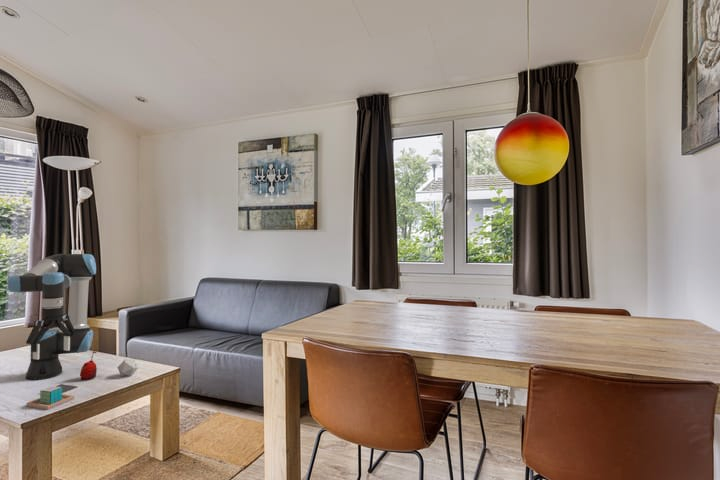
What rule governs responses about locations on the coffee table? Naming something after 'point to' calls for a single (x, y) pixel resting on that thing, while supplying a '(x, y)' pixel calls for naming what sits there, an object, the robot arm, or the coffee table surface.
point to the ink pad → (68, 388)
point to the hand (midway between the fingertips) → (51, 354)
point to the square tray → (37, 404)
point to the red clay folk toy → (88, 370)
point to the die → (127, 367)
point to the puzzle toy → (51, 395)
